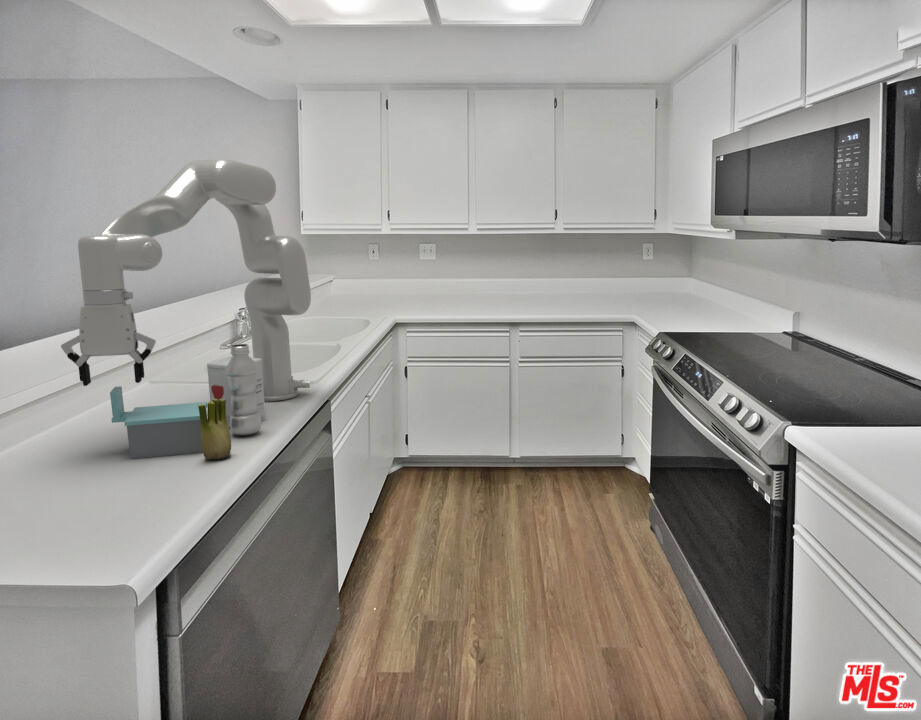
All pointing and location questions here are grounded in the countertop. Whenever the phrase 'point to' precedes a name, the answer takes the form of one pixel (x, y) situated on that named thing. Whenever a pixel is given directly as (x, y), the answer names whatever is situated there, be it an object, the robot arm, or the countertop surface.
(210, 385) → the supplement box
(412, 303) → the countertop surface
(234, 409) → the plastic bottle
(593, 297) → the countertop surface
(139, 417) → the lid
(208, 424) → the fennel bulb
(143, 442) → the tub
